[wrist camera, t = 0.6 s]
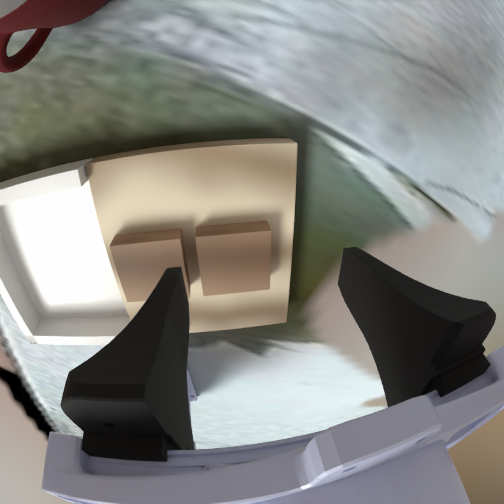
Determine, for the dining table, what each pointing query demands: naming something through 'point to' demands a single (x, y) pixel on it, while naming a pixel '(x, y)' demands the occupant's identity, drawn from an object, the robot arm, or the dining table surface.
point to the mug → (37, 24)
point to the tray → (57, 259)
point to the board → (204, 213)
